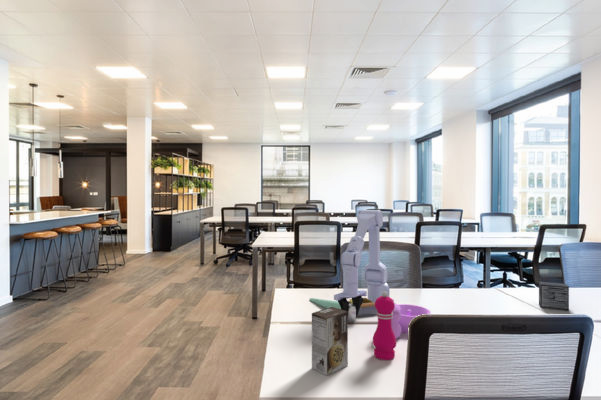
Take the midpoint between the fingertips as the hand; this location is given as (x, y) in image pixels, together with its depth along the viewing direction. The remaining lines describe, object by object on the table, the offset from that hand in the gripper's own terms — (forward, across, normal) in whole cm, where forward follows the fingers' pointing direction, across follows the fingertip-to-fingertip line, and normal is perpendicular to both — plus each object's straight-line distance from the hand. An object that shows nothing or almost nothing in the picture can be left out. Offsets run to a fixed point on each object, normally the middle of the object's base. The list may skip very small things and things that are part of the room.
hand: (350, 316), depth 151 cm
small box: (+2, -89, +28) cm, 94 cm away
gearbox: (+2, -10, -6) cm, 12 cm away
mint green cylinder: (+2, -1, -19) cm, 19 cm away
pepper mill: (+2, +10, +32) cm, 33 cm away
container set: (+2, -11, +18) cm, 21 cm away
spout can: (+2, 0, 0) cm, 2 cm away
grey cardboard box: (+2, +29, +30) cm, 42 cm away
